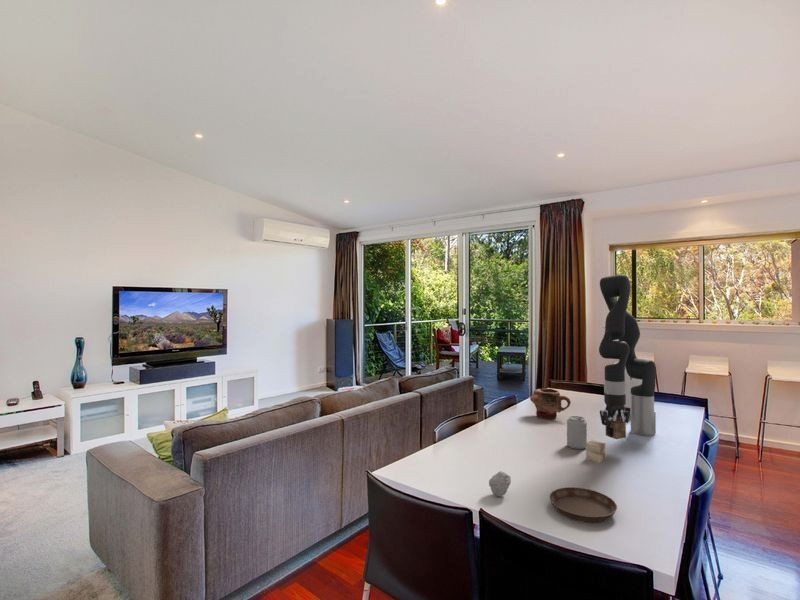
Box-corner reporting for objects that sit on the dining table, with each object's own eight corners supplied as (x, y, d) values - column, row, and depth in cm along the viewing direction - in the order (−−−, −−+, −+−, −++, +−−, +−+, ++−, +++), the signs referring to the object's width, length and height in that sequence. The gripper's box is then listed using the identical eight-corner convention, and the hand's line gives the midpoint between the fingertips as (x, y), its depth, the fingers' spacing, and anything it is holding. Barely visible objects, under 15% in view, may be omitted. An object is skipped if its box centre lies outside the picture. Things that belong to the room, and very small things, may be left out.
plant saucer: (548, 520, 116) (548, 509, 116) (550, 492, 132) (550, 483, 132) (621, 532, 110) (621, 521, 110) (613, 502, 126) (613, 492, 126)
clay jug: (572, 417, 217) (572, 390, 217) (569, 423, 206) (568, 394, 206) (532, 412, 227) (532, 386, 227) (527, 417, 216) (527, 390, 216)
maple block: (592, 455, 163) (592, 440, 163) (605, 459, 160) (605, 443, 160) (586, 458, 160) (586, 442, 160) (599, 462, 156) (599, 446, 156)
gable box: (618, 404, 244) (618, 355, 244) (644, 406, 238) (644, 357, 238) (617, 413, 225) (616, 360, 225) (645, 416, 219) (645, 362, 219)
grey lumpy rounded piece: (515, 497, 128) (515, 474, 128) (495, 501, 126) (495, 478, 126) (503, 489, 134) (503, 467, 134) (484, 492, 132) (484, 470, 132)
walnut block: (615, 433, 169) (614, 418, 169) (625, 437, 164) (625, 422, 164) (605, 435, 167) (605, 420, 167) (616, 439, 162) (615, 423, 162)
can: (588, 450, 169) (588, 420, 169) (568, 449, 170) (568, 419, 170) (584, 444, 176) (584, 415, 176) (565, 443, 178) (565, 414, 178)
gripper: (620, 388, 171) (621, 430, 172) (593, 391, 166) (593, 434, 166) (636, 391, 164) (637, 435, 165) (608, 395, 159) (609, 440, 159)
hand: (615, 435), depth 165 cm, fingers closed on walnut block, 5 cm apart
